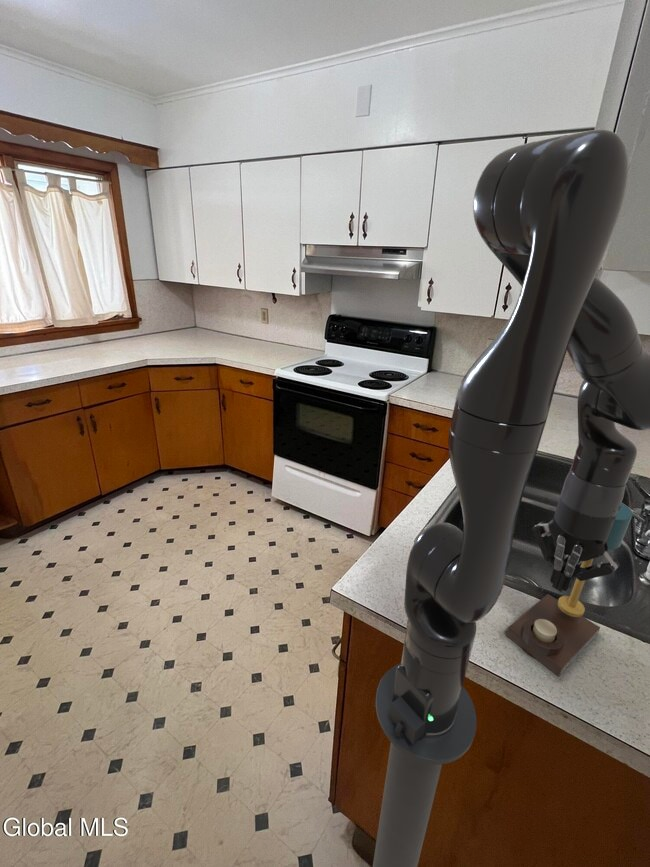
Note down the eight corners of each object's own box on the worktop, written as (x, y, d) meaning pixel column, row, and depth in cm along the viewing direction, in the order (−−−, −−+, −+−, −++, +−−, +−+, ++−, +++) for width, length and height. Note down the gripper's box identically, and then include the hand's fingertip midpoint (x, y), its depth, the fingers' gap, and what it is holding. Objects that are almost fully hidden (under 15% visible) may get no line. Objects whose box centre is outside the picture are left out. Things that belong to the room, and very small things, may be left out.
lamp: (580, 629, 76) (621, 525, 66) (542, 604, 81) (575, 503, 71) (598, 611, 80) (640, 510, 70) (561, 588, 85) (595, 490, 75)
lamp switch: (547, 646, 73) (550, 639, 72) (528, 632, 76) (530, 625, 75) (558, 636, 75) (561, 629, 74) (539, 622, 78) (541, 615, 77)
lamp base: (556, 679, 71) (562, 663, 70) (503, 637, 79) (507, 622, 77) (596, 635, 79) (603, 620, 78) (545, 601, 87) (550, 586, 85)
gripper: (533, 488, 66) (510, 573, 73) (627, 533, 56) (590, 625, 64) (557, 474, 70) (533, 556, 77) (649, 513, 60) (612, 603, 68)
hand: (559, 587), depth 70 cm, fingers closed
